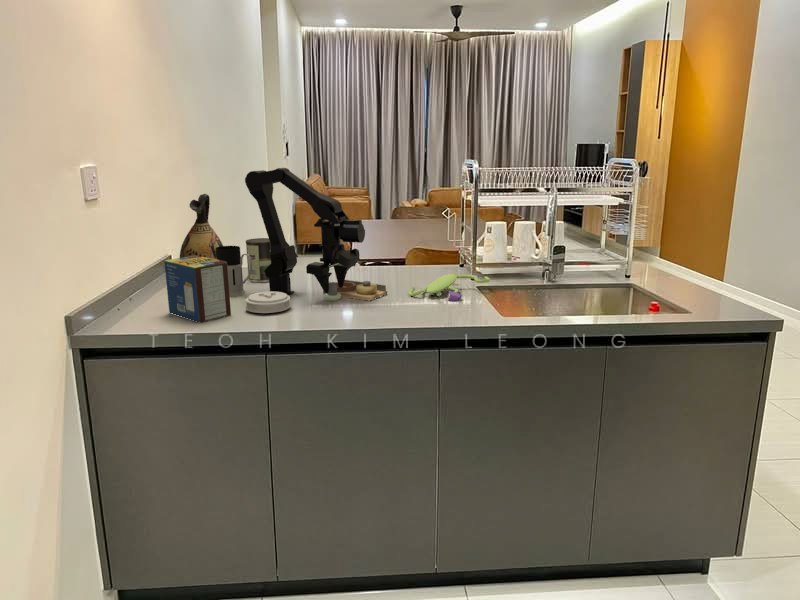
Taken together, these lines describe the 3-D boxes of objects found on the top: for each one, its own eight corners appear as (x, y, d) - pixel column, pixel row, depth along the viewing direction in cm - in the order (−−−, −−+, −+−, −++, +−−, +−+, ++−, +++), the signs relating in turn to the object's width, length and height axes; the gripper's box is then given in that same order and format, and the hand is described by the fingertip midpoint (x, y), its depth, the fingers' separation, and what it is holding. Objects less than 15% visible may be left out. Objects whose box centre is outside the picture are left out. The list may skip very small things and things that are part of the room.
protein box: (200, 306, 181) (196, 254, 177) (231, 315, 171) (227, 261, 167) (168, 313, 173) (163, 260, 169) (199, 323, 163) (194, 267, 159)
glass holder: (231, 289, 201) (228, 244, 198) (263, 294, 194) (260, 248, 191) (211, 294, 194) (207, 248, 190) (243, 300, 187) (240, 252, 183)
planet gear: (334, 301, 186) (333, 285, 185) (320, 299, 189) (320, 283, 187) (344, 298, 190) (343, 282, 189) (331, 295, 193) (330, 280, 192)
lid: (243, 306, 181) (242, 290, 179) (286, 303, 185) (285, 287, 184) (249, 318, 169) (248, 300, 168) (294, 313, 173) (293, 296, 172)
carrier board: (369, 301, 186) (369, 286, 185) (323, 294, 195) (322, 280, 194) (387, 294, 194) (387, 280, 193) (341, 287, 203) (341, 274, 202)
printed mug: (280, 276, 221) (278, 237, 217) (274, 282, 211) (271, 242, 207) (252, 276, 221) (249, 237, 218) (244, 282, 211) (241, 242, 208)
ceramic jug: (219, 285, 207) (213, 196, 200) (174, 284, 208) (166, 196, 200) (234, 274, 224) (228, 192, 216) (192, 274, 224) (185, 192, 216)
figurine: (497, 291, 201) (497, 274, 200) (448, 306, 182) (448, 288, 180) (452, 282, 213) (452, 267, 212) (402, 296, 194) (402, 279, 192)
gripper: (333, 249, 174) (336, 301, 178) (370, 238, 189) (371, 286, 193) (303, 246, 179) (307, 296, 184) (341, 235, 194) (343, 282, 199)
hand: (333, 290), depth 190 cm, fingers open, 7 cm apart
